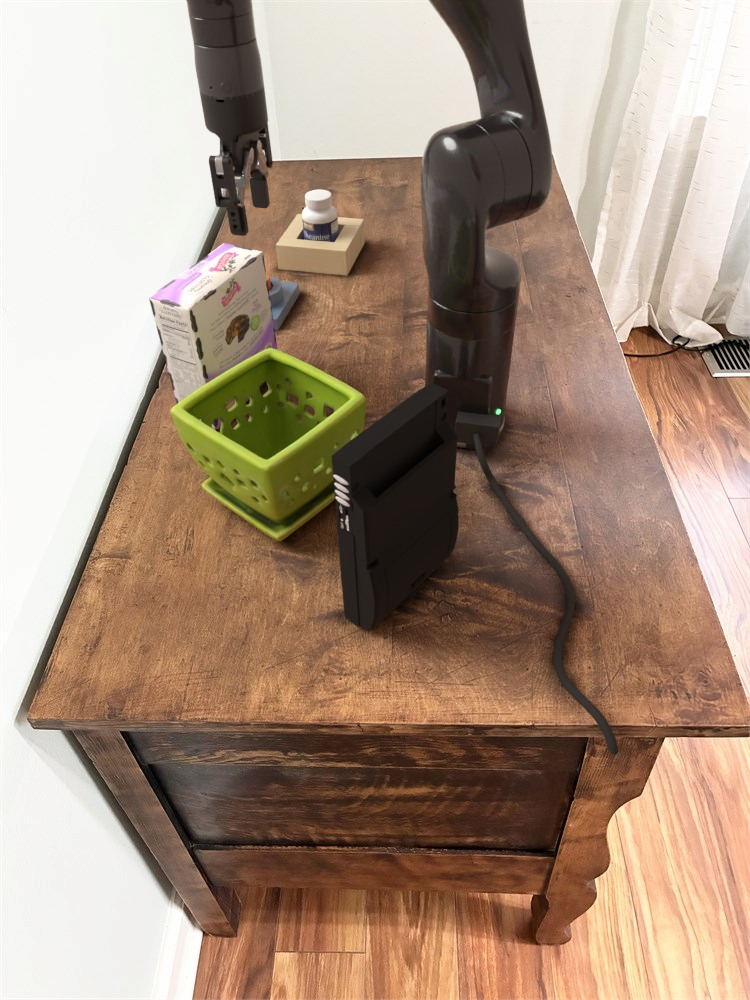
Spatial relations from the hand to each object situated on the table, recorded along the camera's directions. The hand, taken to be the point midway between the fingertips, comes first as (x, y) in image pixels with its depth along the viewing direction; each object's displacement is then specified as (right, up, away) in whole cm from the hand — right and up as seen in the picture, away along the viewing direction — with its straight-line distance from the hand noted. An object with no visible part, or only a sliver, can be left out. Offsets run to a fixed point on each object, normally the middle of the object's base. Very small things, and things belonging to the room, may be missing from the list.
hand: (251, 220), depth 99 cm
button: (0, -7, +7) cm, 10 cm away
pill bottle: (+8, +2, +20) cm, 22 cm away
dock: (+8, +2, +20) cm, 22 cm away
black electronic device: (+19, -45, -28) cm, 57 cm away
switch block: (0, -9, +9) cm, 13 cm away
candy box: (-2, -24, -5) cm, 24 cm away
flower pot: (+6, -36, -18) cm, 41 cm away
